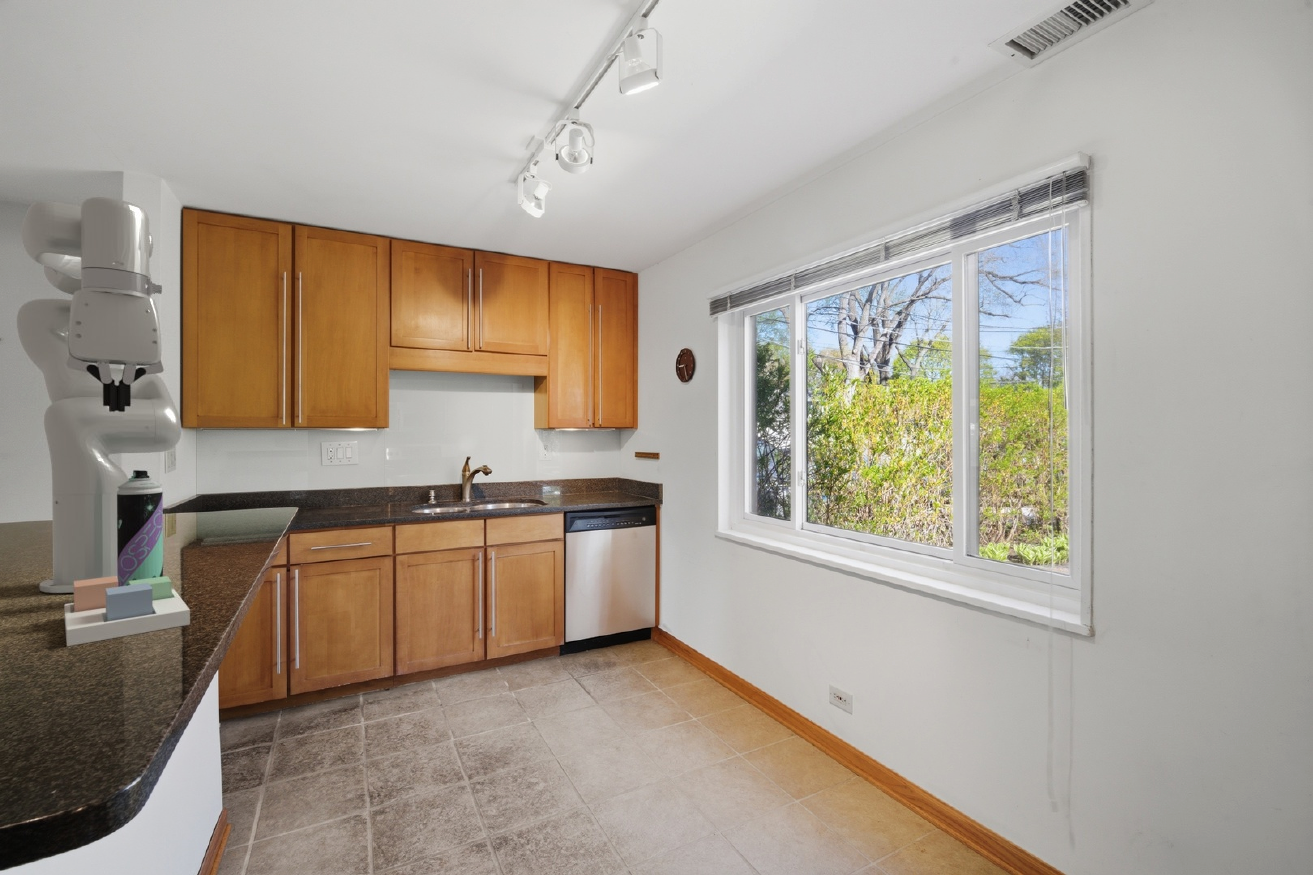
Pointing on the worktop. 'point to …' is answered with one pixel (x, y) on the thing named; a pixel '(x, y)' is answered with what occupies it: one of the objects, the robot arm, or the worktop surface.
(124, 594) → the slate key
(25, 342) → the robot arm
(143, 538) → the spray can
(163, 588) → the sage key
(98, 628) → the key console
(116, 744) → the worktop surface
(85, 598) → the terracotta key
